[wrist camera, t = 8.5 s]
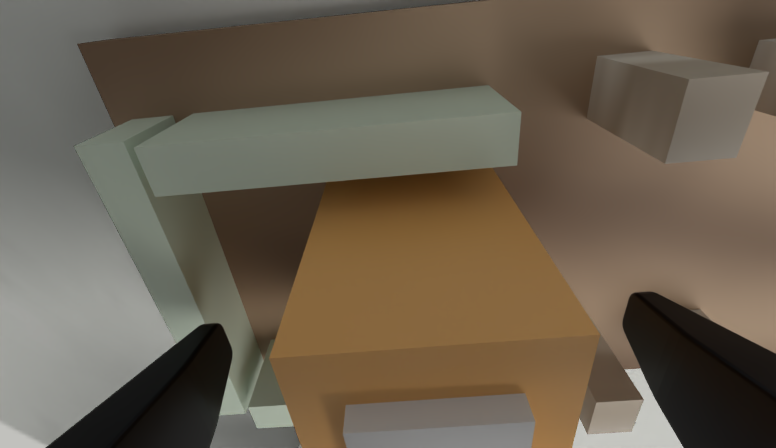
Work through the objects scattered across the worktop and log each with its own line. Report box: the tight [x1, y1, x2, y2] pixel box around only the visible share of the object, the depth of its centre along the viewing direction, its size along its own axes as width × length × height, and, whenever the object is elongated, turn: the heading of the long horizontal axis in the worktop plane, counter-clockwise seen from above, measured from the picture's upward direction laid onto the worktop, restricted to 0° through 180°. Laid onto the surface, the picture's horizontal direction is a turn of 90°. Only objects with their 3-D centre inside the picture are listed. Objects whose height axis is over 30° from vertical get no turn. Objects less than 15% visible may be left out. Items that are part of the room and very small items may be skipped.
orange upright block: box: [269, 168, 600, 448], centre depth 8 cm, size 5×4×6 cm
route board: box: [77, 0, 776, 434], centre depth 10 cm, size 12×24×4 cm, turn 95°
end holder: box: [74, 85, 521, 429], centre depth 10 cm, size 9×8×2 cm
